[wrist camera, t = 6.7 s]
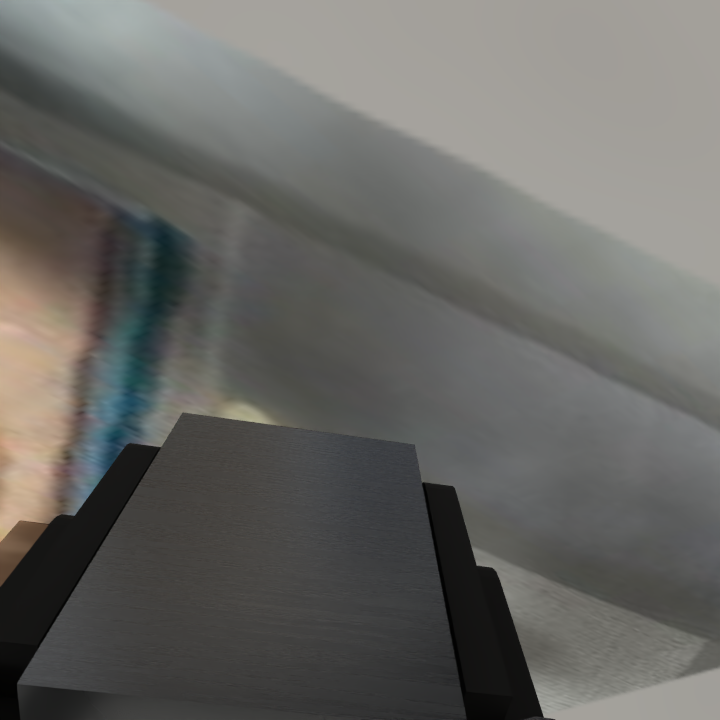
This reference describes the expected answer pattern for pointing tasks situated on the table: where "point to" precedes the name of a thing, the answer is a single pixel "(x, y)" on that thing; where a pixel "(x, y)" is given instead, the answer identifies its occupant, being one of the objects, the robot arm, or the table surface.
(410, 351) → the table surface
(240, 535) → the dark gray beam
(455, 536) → the robot arm
